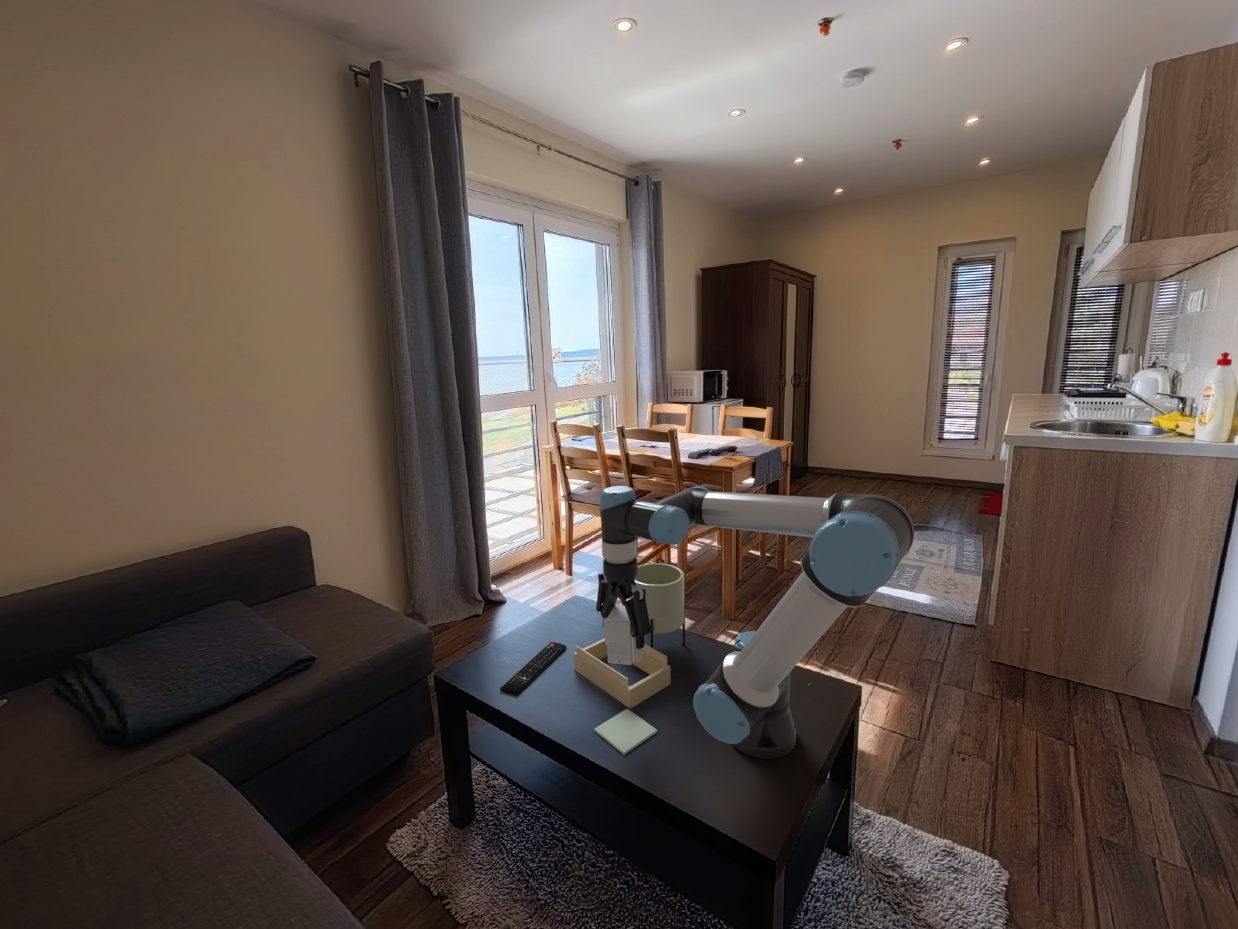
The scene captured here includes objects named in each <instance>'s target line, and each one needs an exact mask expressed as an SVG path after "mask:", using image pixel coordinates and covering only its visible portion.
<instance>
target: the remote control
mask: <svg viewBox="0 0 1238 929" xmlns="http://www.w3.org/2000/svg"><path fill="white" fill-rule="evenodd" d="M565 650H567V645H565V644H563V643H560V642H552V641H550V642H549V643H548V644H547V645H546V646H545V647H544V648H543V649H541V650H540V651H539V652H538V653H537V654H536V655H535V656H533V658H531V660H529V662H527V663H526V664H525V665H524V666H523V667H521V669H519V670H518V671H517V672H516V673H515V674H514V675H513V676H512V677H511V678H510V679H508V680H507V681H506V682H505V683H504V684H503V685H502V686H501V687H500V688H499V690H500V692H502V691H503V693H505V692H506V694H508V693H509V695H512V696H515V695H516V696H515V697H518V696H519V695H520V694H521V693H522V692H523V691H524V690H526V688H527V687H529V685H530V684H531V683H533V682H534V681H535V680H536V679H537V678H538V677H539V675H541V674H542V673H543V672H544V671H545V670H546V669H547V668H548V667H549V666H550V665H552V663H553V662H555V660H556V659H557V658H558V657H559V656H560V655H561V654H562V653H563V652H564V651H565Z"/></svg>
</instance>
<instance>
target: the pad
mask: <svg viewBox="0 0 1238 929" xmlns="http://www.w3.org/2000/svg"><path fill="white" fill-rule="evenodd" d="M593 730H594V732H595V733H596V734H597V735H599V736H600V737H601V738H603V740H605V741H606V742H607V743H608V744H610V746H612V747H613V748H615V749H616V750H618V752H620V753H621V754H622V755H624V756H625V755H626V754H627V753H629V752H631V751H632V750H634V749H636V747H638V746H639V745H641V744H642V743H644V742H645V741H646V740H648V739H649V738H651V737H652V736H654V735H655V734H657V733H658V729H656V728H655V727H654V726H652V725H651V724H650V723H649V722H646V721H645V720H644V719H643V718H641V717H640V716H638V715H637V714H636V713H634V712H633V711H631V709H629V708H626V709H624V710H622V711H621V712H619V713H618V714H616V715H614V716H613V717H611V718H608V719H607V720H606V721H604V722H603V723H601V724H600V725H598V726H596V727H594V729H593Z"/></svg>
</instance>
